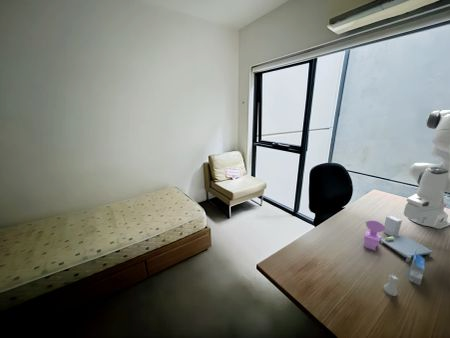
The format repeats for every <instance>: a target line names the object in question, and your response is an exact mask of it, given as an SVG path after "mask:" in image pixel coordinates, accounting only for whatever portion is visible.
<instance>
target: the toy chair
mask: <svg viewBox="0 0 450 338" xmlns="http://www.w3.org/2000/svg"><path fill="white" fill-rule="evenodd" d="M365 226H366V227H367V229H368V230H369V231H368V230H366V231H365V235H364V238H363V240H364V245H363V247H365V248H366V249H369V250H373V251H375V252H376V251H377V250H376V247H377V246H378V245H379V244H380V242H379V241H380V237H382V236H381V235H380V234H378V233H381V232H382V233H383V230H385V227H384V224H382V223H381V222H379V221H378V220H368V221H366V222H365Z"/></svg>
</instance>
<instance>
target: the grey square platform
mask: <svg viewBox="0 0 450 338" xmlns="http://www.w3.org/2000/svg"><path fill="white" fill-rule="evenodd" d="M381 239H382V236H380V240H381ZM381 242H382V241H379V243H381ZM391 251H392V252H393V253H394V254H396V255H398V256H399V257H400V258H402V259H403V260H404V261H405V263H407V264H409V263H410V262H411V261H413V258H414V257H411V256H407V258H406V257H404V256H403V255H401V254H400V253H398V252H397V251H395V250H394V249H392V250H391ZM419 256H421V257H422V258H424V259H426V258H427V257H428V258H432V257H433V256H432V255H431V253H430V254H425V255H419Z"/></svg>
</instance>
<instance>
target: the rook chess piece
mask: <svg viewBox="0 0 450 338" xmlns="http://www.w3.org/2000/svg"><path fill="white" fill-rule="evenodd" d="M398 282H400V279H399V277H398V276H397V275H395V274H392V273H391V274H390V275H388V281H387V283H385V284H384V285H383V291H384V292H385V293H387V295H389V296H393V297H396V296H398V290H397V289H398V288H397V285H398Z"/></svg>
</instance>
